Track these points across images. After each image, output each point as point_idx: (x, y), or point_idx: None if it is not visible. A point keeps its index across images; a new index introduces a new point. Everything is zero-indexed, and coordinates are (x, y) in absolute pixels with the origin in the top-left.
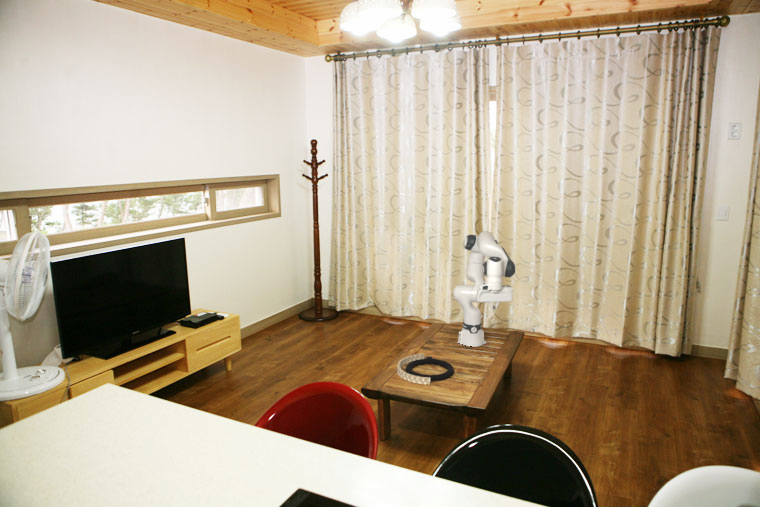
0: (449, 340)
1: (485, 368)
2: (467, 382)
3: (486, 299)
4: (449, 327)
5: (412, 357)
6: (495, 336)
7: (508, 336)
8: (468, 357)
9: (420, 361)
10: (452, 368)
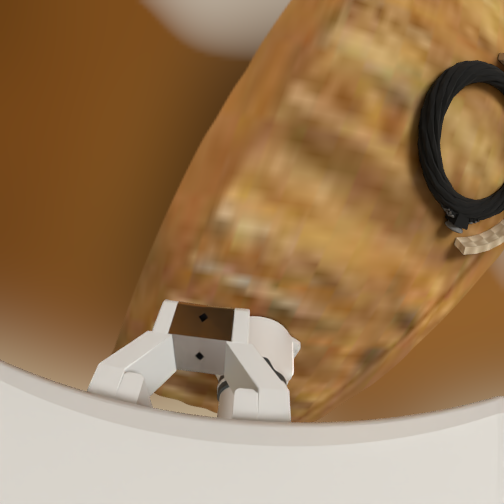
0: (313, 364)
1: (287, 114)
2: (397, 14)
3: (403, 467)
4: None
5: (493, 238)
6: None
7: None
8: (313, 234)
9: (489, 204)
10: (433, 107)
